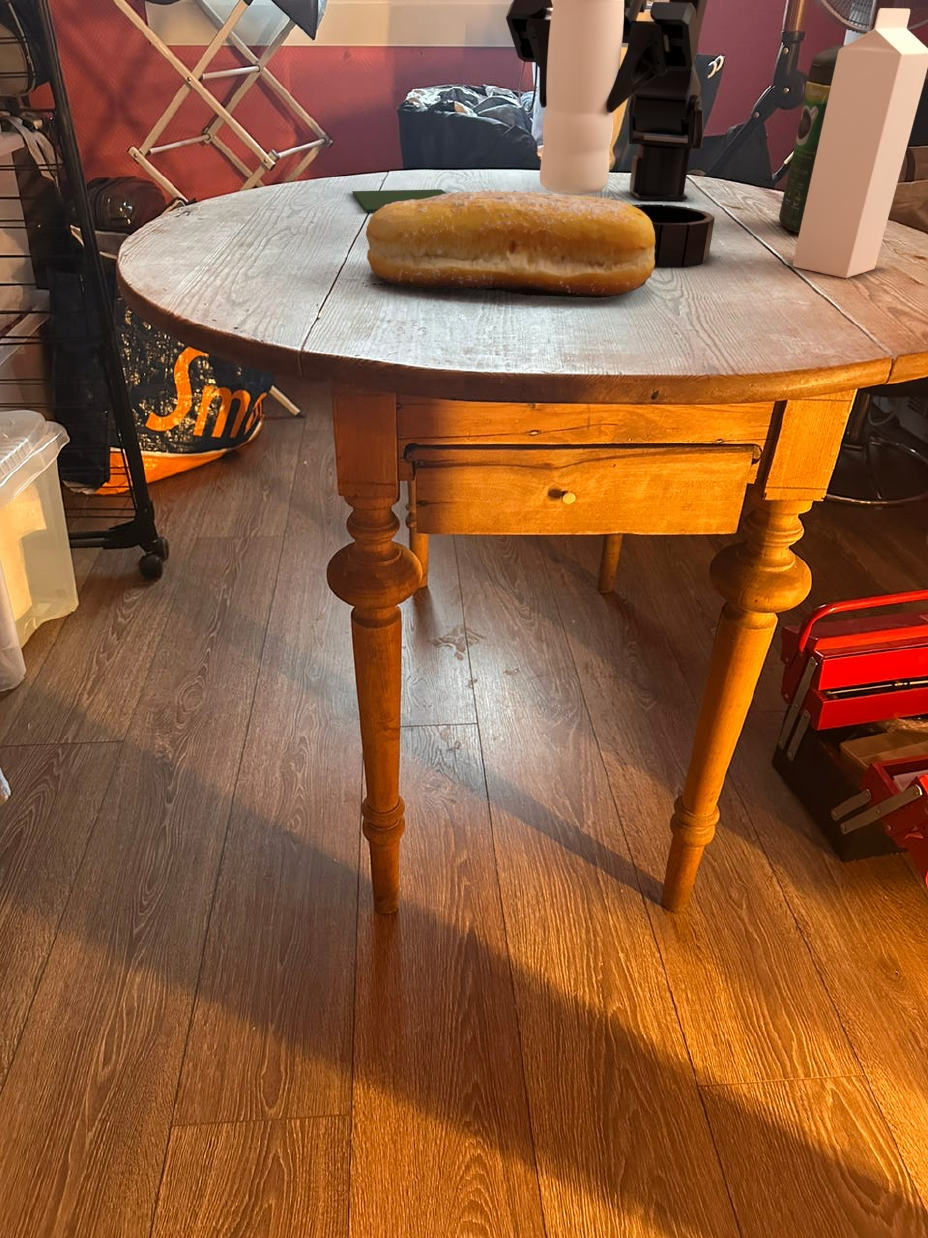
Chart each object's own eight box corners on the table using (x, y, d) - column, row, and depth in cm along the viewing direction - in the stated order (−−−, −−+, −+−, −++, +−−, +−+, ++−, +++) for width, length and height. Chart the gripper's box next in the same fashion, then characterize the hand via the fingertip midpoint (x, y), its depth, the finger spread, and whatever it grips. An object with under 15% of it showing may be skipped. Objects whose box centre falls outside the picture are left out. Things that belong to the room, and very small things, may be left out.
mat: (441, 192, 123) (441, 189, 123) (462, 210, 113) (463, 206, 113) (352, 194, 121) (352, 190, 120) (366, 212, 111) (366, 209, 111)
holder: (691, 243, 101) (698, 204, 99) (719, 267, 93) (726, 224, 90) (600, 243, 100) (604, 203, 98) (619, 266, 92) (624, 223, 90)
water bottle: (592, 198, 92) (623, -123, 77) (528, 190, 94) (546, -122, 80) (616, 186, 97) (649, -117, 82) (554, 178, 100) (576, -117, 85)
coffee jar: (861, 240, 105) (910, 48, 94) (791, 237, 105) (832, 45, 94) (835, 222, 113) (877, 43, 102) (770, 220, 113) (806, 41, 102)
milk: (874, 269, 93) (945, 9, 81) (845, 279, 90) (914, 8, 77) (820, 257, 97) (880, 7, 85) (790, 266, 94) (847, 6, 81)
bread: (656, 312, 79) (670, 212, 75) (353, 296, 81) (348, 198, 76) (647, 272, 90) (658, 183, 86) (380, 260, 92) (377, 172, 87)
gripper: (518, -105, 88) (465, 36, 86) (711, -107, 81) (658, 45, 80) (544, -6, 98) (497, 122, 97) (717, -1, 92) (670, 136, 90)
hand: (574, 106), depth 90 cm, fingers closed on water bottle, 7 cm apart
